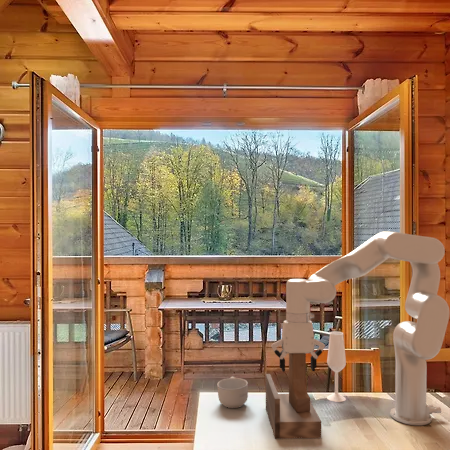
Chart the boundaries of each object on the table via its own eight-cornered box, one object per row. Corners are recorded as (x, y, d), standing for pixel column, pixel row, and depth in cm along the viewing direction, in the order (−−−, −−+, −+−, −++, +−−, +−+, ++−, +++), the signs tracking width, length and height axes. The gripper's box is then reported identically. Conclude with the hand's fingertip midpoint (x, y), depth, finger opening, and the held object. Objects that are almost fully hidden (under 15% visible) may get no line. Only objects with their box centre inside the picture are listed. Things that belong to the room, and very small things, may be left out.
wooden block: (310, 412, 145) (310, 355, 144) (296, 413, 144) (297, 355, 144) (301, 400, 154) (301, 347, 153) (288, 401, 153) (288, 347, 153)
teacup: (245, 412, 156) (245, 389, 156) (214, 409, 158) (214, 386, 158) (251, 396, 170) (251, 375, 170) (222, 394, 172) (222, 373, 172)
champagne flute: (345, 395, 171) (345, 331, 171) (346, 402, 165) (346, 335, 164) (326, 394, 172) (327, 330, 172) (327, 401, 166) (327, 334, 166)
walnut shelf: (305, 407, 160) (305, 373, 160) (321, 438, 138) (321, 398, 138) (265, 408, 160) (265, 373, 159) (274, 438, 138) (275, 398, 137)
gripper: (321, 314, 152) (321, 366, 153) (269, 315, 152) (269, 366, 152) (327, 319, 145) (327, 373, 145) (272, 320, 144) (272, 374, 145)
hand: (297, 370), depth 149 cm, fingers open, 9 cm apart
